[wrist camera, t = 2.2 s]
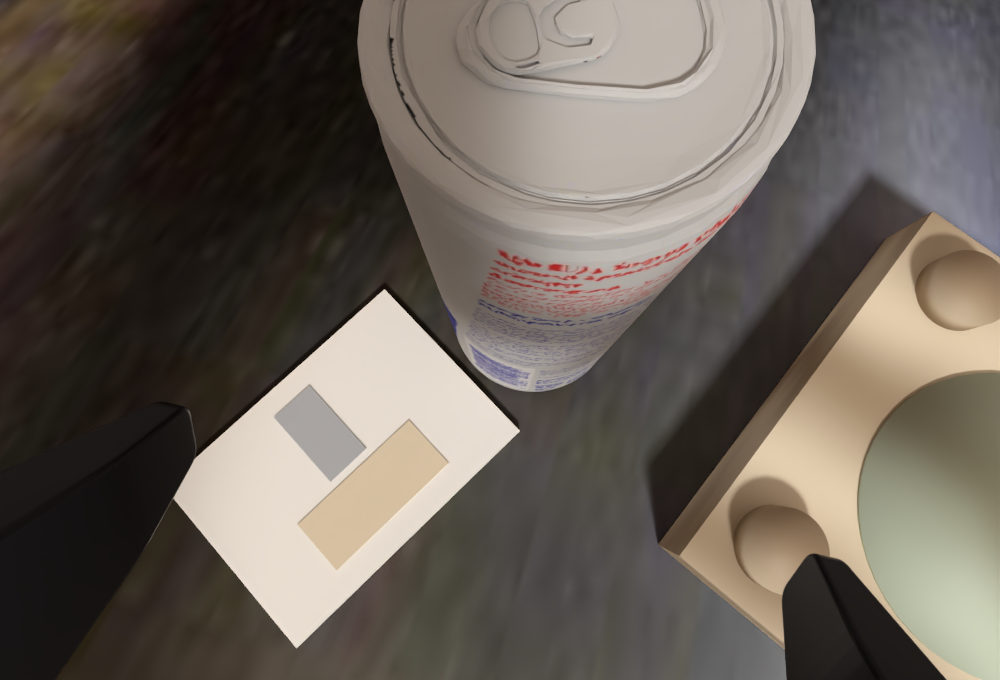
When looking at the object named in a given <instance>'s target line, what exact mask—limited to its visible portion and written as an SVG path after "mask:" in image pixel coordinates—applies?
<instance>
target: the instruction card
mask: <svg viewBox="0 0 1000 680" xmlns="http://www.w3.org/2000/svg"><path fill="white" fill-rule="evenodd" d="M518 432H520V430H519V429H518V428H517V427H516V426H515V425H514V424H513V423H512V422H511V421H510V420H509V419H508V418H507V417H506V416H505V415H504V414H503V413H502V412H501V411H500V410H499V408H498V407H497V406H496V405H495V404H494V403H493V402H492V401H491V400H490V399H489V398H488V397H487V396H486V395H485V394H484V393H483V392H482V391H481V390H480V389H479V388H478V386H477V385H476V384H475V383H474V382H473V381H472V380H471V379H470V378H469V377H468V376H467V375H466V374H465V373H464V372H463V371H462V370H461V369H460V368H459V367H458V366H457V365H456V363H455V362H454V361H453V360H452V359H451V358H450V357H449V356H448V355H447V354H446V353H445V352H444V351H443V350H442V349H441V348H440V347H439V346H438V345H437V344H436V343H435V341H434V340H433V339H432V338H431V337H430V336H429V335H428V334H427V333H426V332H425V331H424V330H423V329H422V328H421V327H420V326H419V325H418V324H417V323H416V322H415V321H414V319H413V318H412V317H411V316H410V315H409V314H408V313H407V312H406V311H405V310H404V309H403V308H402V307H401V306H400V305H399V304H398V303H397V302H396V301H395V300H394V299H393V297H392V296H391V295H390V294H389V293H388V292H387V291H386V290H385V289H384V290H383V291H382V292H381V293H380V294H378V295H377V296H376V297H375V298H374V299H373V300H372V301H371V302H370V303H368V304H367V305H366V306H365V307H364V308H363V309H362V310H361V311H359V312H358V313H357V314H356V315H355V316H354V317H353V318H352V319H350V320H349V321H348V322H347V323H346V324H345V325H344V326H343V327H342V328H340V329H339V330H338V331H337V332H336V333H335V334H334V335H333V336H331V337H330V338H329V339H328V340H327V341H326V342H325V343H324V344H323V345H321V346H320V347H319V348H318V349H317V350H316V351H315V352H314V353H312V354H311V355H310V356H309V357H308V358H307V359H306V360H305V361H304V362H302V363H301V364H300V365H299V366H298V367H297V368H296V369H295V370H293V371H292V372H291V373H290V374H289V375H288V376H287V377H286V378H285V379H283V380H282V381H281V382H280V383H279V384H278V385H277V386H276V387H274V388H273V389H272V390H271V391H270V392H269V393H268V394H267V395H266V396H264V397H263V398H262V399H261V400H260V401H259V402H258V403H257V404H255V405H254V406H253V407H252V408H251V409H250V410H249V411H248V412H247V413H245V414H244V415H243V416H242V417H241V418H240V419H239V420H238V421H236V422H235V423H234V424H233V425H232V426H231V427H230V428H229V429H228V430H226V431H225V432H224V433H223V434H222V435H221V436H220V437H219V438H217V439H216V440H215V441H214V442H213V443H212V444H211V445H210V446H209V447H207V448H206V449H205V450H204V451H203V452H202V453H201V454H200V455H198V456H197V457H196V458H195V459H194V461H193V463H192V465H191V467H190V469H189V471H188V473H187V474H186V476H185V478H184V480H183V482H182V484H181V485H180V487H179V489H178V491H177V493H176V494H175V496H174V500H175V501H176V502H177V503H178V505H179V506H180V507H181V508H182V509H183V511H184V512H185V513H186V514H187V515H188V517H189V518H190V519H191V520H192V522H193V523H194V524H195V525H196V526H197V528H198V529H199V530H200V531H201V533H202V534H203V535H204V536H205V537H206V539H207V540H208V541H209V542H210V544H211V545H212V546H213V547H214V548H215V550H216V551H217V552H218V553H219V554H220V556H221V557H222V558H223V559H224V561H225V562H226V563H227V564H228V565H229V567H230V568H231V569H232V570H233V572H234V573H235V574H236V575H237V576H238V578H239V579H240V580H241V581H242V583H243V584H244V585H245V586H246V587H247V589H248V590H249V591H250V592H251V593H252V595H253V596H254V597H255V598H256V600H257V601H258V602H259V603H260V604H261V606H262V607H263V608H264V609H265V611H266V612H267V613H268V614H269V615H270V617H271V618H272V619H273V620H274V621H275V623H276V624H277V625H278V626H279V628H280V629H281V630H282V631H283V632H284V634H285V635H286V636H287V637H288V639H289V640H290V641H291V642H292V643H293V645H294V646H295V647H296V648H297V647H299V646H300V645H301V644H302V643H303V642H304V641H305V640H306V639H307V638H308V637H309V636H310V635H311V634H312V633H313V632H314V631H315V630H316V629H317V628H318V627H319V626H320V625H321V624H322V623H323V622H324V621H325V620H326V619H327V618H328V617H329V616H330V615H332V614H333V613H334V612H335V611H336V610H337V609H338V608H339V607H340V606H341V605H342V604H343V603H344V602H345V601H346V600H347V599H348V598H349V597H350V596H351V595H352V594H353V593H354V592H355V591H356V590H357V589H358V588H359V587H360V586H361V585H362V584H363V583H364V582H365V581H366V580H367V579H369V578H370V577H371V576H372V575H373V574H374V573H375V572H376V571H377V570H378V569H379V568H380V567H381V566H382V565H383V564H384V563H385V562H386V561H387V560H388V559H389V558H390V557H391V556H392V555H393V554H394V553H395V552H396V551H397V550H398V549H399V548H400V547H401V546H402V545H403V544H404V543H405V542H407V541H408V540H409V539H410V538H411V537H412V536H413V535H414V534H415V533H416V532H417V531H418V530H419V529H420V528H421V527H422V526H423V525H424V524H425V523H426V522H427V521H428V520H429V519H430V518H431V517H432V516H433V515H434V514H435V513H436V512H437V511H438V510H439V509H440V508H441V507H442V506H444V505H445V504H446V503H447V502H448V501H449V500H450V499H451V498H452V497H453V496H454V495H455V494H456V493H457V492H458V491H459V490H460V489H461V488H462V487H463V486H464V485H465V484H466V483H467V482H468V481H469V480H470V479H471V478H472V477H473V476H474V475H475V474H476V473H477V472H478V471H479V470H480V469H482V468H483V467H484V466H485V465H486V464H487V463H488V462H489V461H490V460H491V459H492V458H493V457H494V456H495V455H496V454H497V453H498V452H499V451H500V450H501V449H502V448H503V447H504V446H505V445H506V444H507V443H508V442H509V441H510V440H511V439H512V438H513V437H514V436H515V435H516V434H517V433H518Z"/></svg>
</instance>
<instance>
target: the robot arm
mask: <svg viewBox="0 0 1000 680" xmlns="http://www.w3.org/2000/svg"><path fill="white" fill-rule="evenodd" d="M195 455H196V441H195V436H194V430H193V425H192V420H191V415H190V412H189V411H188V409H187V408H186V407H184V406H180V405H175V404H171V403H167V402H156V403H153V404H150V405H148V406H146V407H144V408H141V409H139V410H137V411H135V412H132V413H130V414H128V415H126V416H124V417H121V418H119V419H117V420H115V421H112V422H110V423H108V424H106V425H103V426H101V427H99V428H97V429H94V430H92V431H90V432H88V433H86V434H83V435H81V436H79V437H77V438H74V439H72V440H70V441H68V442H65V443H63V444H61V445H59V446H56V447H54V448H52V449H50V450H48V451H45V452H43V453H41V454H39V455H36V456H34V457H32V458H30V459H27V460H25V461H23V462H21V463H18V464H16V465H14V466H12V467H10V468H7V469H5V470H3V471H1V472H0V680H55V679H56V678H57V676H58V675H59V674H60V672H61V671H62V669H63V668H64V666H65V665H66V664H67V662H68V661H69V659H70V658H71V656H72V655H73V653H74V652H75V651H76V649H77V648H78V646H79V645H80V643H81V642H82V640H83V639H84V638H85V636H86V635H87V633H88V632H89V630H90V629H91V628H92V626H93V625H94V623H95V622H96V620H97V619H98V617H99V616H100V615H101V613H102V612H103V610H104V609H105V607H106V606H107V605H108V603H109V602H110V600H111V599H112V597H113V596H114V594H115V593H116V592H117V590H118V589H119V587H120V586H121V584H122V583H123V582H124V580H125V579H126V577H127V576H128V574H129V573H130V571H131V570H132V568H133V567H134V565H135V564H136V562H137V561H138V559H139V558H140V556H141V555H142V553H143V552H144V550H145V548H146V546H147V545H148V543H149V541H150V540H151V538H152V536H153V534H154V532H155V531H156V529H157V527H158V525H159V523H160V522H161V520H162V518H163V516H164V514H165V512H166V511H167V509H168V507H169V505H170V503H171V502H172V500H173V498H174V496H175V494H176V493H177V491H178V489H179V487H180V485H181V484H182V482H183V480H184V478H185V476H186V474H187V473H188V471H189V469H190V467H191V465H192V463H193V461H194V459H195ZM782 615H783V630H784V645H785V660H786V675H787V680H947V679H946V678H945V677H944V676H943V675H942V674H941V672H940V671H939V670H938V669H937V668H936V667H935V665H934V664H933V663H932V662H931V661H930V660H929V659H928V657H927V656H926V655H925V654H924V653H923V652H922V650H921V649H920V648H919V647H918V646H917V645H916V644H915V642H914V641H913V640H912V639H911V638H910V637H909V635H908V634H907V633H906V632H905V631H904V630H903V628H902V627H901V626H900V625H899V624H898V623H897V622H896V620H895V619H894V618H893V617H892V616H891V615H890V613H889V612H888V611H887V610H886V609H885V608H884V606H883V605H882V604H881V603H880V602H879V601H878V600H877V598H876V597H875V596H874V595H873V594H872V593H871V591H870V590H869V589H868V588H867V587H866V586H865V585H864V583H863V582H862V581H861V580H860V579H859V578H858V576H857V575H856V574H855V573H854V572H853V571H852V569H851V568H850V567H849V566H848V565H847V564H846V563H845V562H843V561H842V560H840V559H838V558H834V557H829V556H825V555H821V554H817V553H812V554H810V555H808V556H807V557H806V558H805V559H804V560H803V562H802V563H801V564H800V566H799V567H798V569H797V570H796V571H795V573H794V574H793V576H792V577H791V578H790V580H789V581H788V583H787V584H786V586H785V588H784V590H783V595H782Z"/></svg>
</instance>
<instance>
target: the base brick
mask: <svg viewBox="0 0 1000 680" xmlns="http://www.w3.org/2000/svg"><path fill="white" fill-rule="evenodd" d="M658 545H659V546H661V547H662V548H663V549H664V550H665V551H667V552H668V553H669V554H670V555H671V556H673V557H674V558H675V559H676V560H677V561H679V562H680V563H681V564H682V565H683V566H685V567H686V568H687V569H688V570H689V571H691V572H692V573H693V574H694V575H695V576H697V577H698V578H699V579H700V580H701V581H703V582H704V583H705V584H706V585H707V586H709V587H710V588H711V589H712V590H713V591H715V592H716V593H717V594H718V595H719V596H721V597H722V598H723V599H724V600H725V601H727V602H728V603H729V604H730V605H732V606H733V607H734V608H735V609H736V610H738V611H739V612H740V613H741V614H742V615H744V616H745V617H746V618H747V619H748V620H750V621H751V622H752V623H753V624H754V625H756V626H757V627H758V628H759V629H760V630H762V631H763V632H764V633H765V634H766V635H768V636H769V637H770V638H771V639H772V640H774V641H775V642H776V643H777V644H778V645H780V646H781V647H782V648H783V649H784V650H785V645H784V630H783V615H782V595H783V590H784V588H785V586H786V584H787V583H788V581H789V580H790V578H791V577H792V576H793V574H794V573H795V571H796V570H797V569H798V567H799V566H800V564H801V563H802V562H803V560H804V559H805V558H806V557H807V556H808V555H810V554H812V553H817V554H821V555H825V556H829V557H834V558H838V559H840V560H842V561H843V562H845V563H846V564H847V565H848V566H849V567H850V568H851V569H852V571H853V572H854V573H855V574H856V575H857V576H858V578H859V579H860V580H861V581H862V582H863V583H864V585H865V586H866V587H867V588H868V589H869V590H870V591H871V593H872V594H873V595H874V596H875V597H876V598H877V600H878V601H879V602H880V603H881V604H882V605H883V606H884V608H885V609H886V610H887V611H888V612H889V613H890V615H891V616H892V617H893V618H894V619H895V620H896V622H897V623H898V624H899V625H900V626H901V627H902V628H903V630H904V631H905V632H906V633H907V634H908V635H909V637H910V638H911V639H912V640H913V641H914V642H915V644H916V645H917V646H918V647H919V648H920V649H921V650H922V652H923V653H924V654H925V655H926V656H927V657H928V659H929V660H930V661H931V662H932V663H933V664H934V665H935V667H936V668H937V669H938V670H939V671H940V672H941V674H942V675H943V676H944V677H945V678H946V679H947V680H1000V257H998V256H997V255H995V254H994V253H992V252H991V251H990V250H988V249H987V248H985V247H984V246H982V245H981V244H979V243H978V242H977V241H975V240H974V239H972V238H971V237H969V236H968V235H966V234H965V233H963V232H962V231H961V230H959V229H958V228H956V227H955V226H953V225H952V224H950V223H949V222H948V221H946V220H945V219H943V218H942V217H940V216H939V215H937V214H936V213H935V212H931V213H929V214H928V215H926V216H924V217H922V218H921V219H919V220H917V221H916V222H914V223H912V224H910V225H909V226H907V227H905V228H904V229H902V230H900V231H898V232H897V233H895V234H893V235H891V236H890V237H888V238H886V239H885V241H884V242H883V243H882V245H881V246H880V247H879V249H878V250H877V251H876V253H875V254H874V255H873V257H872V258H871V259H870V261H869V262H868V263H867V265H866V266H865V267H864V269H863V270H862V271H861V273H860V274H859V275H858V277H857V278H856V279H855V281H854V282H853V284H852V285H851V286H850V288H849V289H848V290H847V292H846V293H845V294H844V296H843V297H842V298H841V300H840V301H839V302H838V304H837V305H836V306H835V308H834V309H833V310H832V312H831V313H830V314H829V316H828V317H827V318H826V320H825V321H824V322H823V324H822V325H821V326H820V328H819V329H818V331H817V332H816V333H815V335H814V336H813V337H812V339H811V340H810V341H809V343H808V344H807V345H806V347H805V348H804V349H803V351H802V352H801V353H800V355H799V356H798V357H797V359H796V360H795V361H794V363H793V364H792V365H791V367H790V368H789V369H788V371H787V372H786V373H785V375H784V376H783V378H782V379H781V380H780V382H779V383H778V384H777V386H776V387H775V388H774V390H773V391H772V392H771V394H770V395H769V396H768V398H767V399H766V400H765V402H764V403H763V404H762V406H761V407H760V408H759V410H758V411H757V412H756V414H755V415H754V416H753V418H752V419H751V421H750V422H749V423H748V425H747V426H746V427H745V429H744V430H743V431H742V433H741V434H740V435H739V437H738V438H737V439H736V441H735V442H734V443H733V445H732V446H731V447H730V449H729V450H728V451H727V453H726V454H725V455H724V457H723V458H722V459H721V461H720V462H719V463H718V465H717V466H716V468H715V469H714V470H713V472H712V473H711V474H710V476H709V477H708V478H707V480H706V481H705V482H704V484H703V485H702V486H701V488H700V489H699V490H698V492H697V493H696V494H695V496H694V497H693V498H692V500H691V501H690V502H689V504H688V505H687V506H686V508H685V509H684V510H683V512H682V513H681V515H680V516H679V517H678V519H677V520H676V521H675V523H674V524H673V525H672V527H671V528H670V529H669V531H668V532H667V533H666V535H665V536H664V537H663V539H662V540H661V541H660V543H659V544H658Z"/></svg>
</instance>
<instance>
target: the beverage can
mask: <svg viewBox="0 0 1000 680" xmlns="http://www.w3.org/2000/svg"><path fill="white" fill-rule="evenodd" d="M357 44H358V55H359V62H360V69H361V76H362V83H363V86H364V89H365V92H366V95H367V98H368V101H369V104H370V107H371V109H372V111H373V113H374V115H375V118H376V120H377V123H378V127H379V130H380V134H381V138H382V141H383V145H384V148H385V150H386V153H387V156H388V158H389V161H390V163H391V166H392V169H393V171H394V174H395V176H396V179H397V182H398V184H399V187H400V189H401V192H402V195H403V197H404V200H405V203H406V205H407V208H408V210H409V213H410V216H411V218H412V221H413V223H414V226H415V229H416V231H417V234H418V236H419V239H420V242H421V244H422V247H423V249H424V252H425V255H426V257H427V260H428V263H429V265H430V268H431V270H432V273H433V276H434V278H435V281H436V283H437V286H438V289H439V291H440V294H441V296H442V299H443V302H444V304H445V307H446V309H447V312H448V315H449V317H450V320H451V322H452V325H453V328H454V330H455V333H456V336H457V338H458V341H459V343H460V345H461V348H462V349H463V351H464V353H465V355H466V356H467V358H468V359H469V360H470V362H471V363H472V364H473V365H474V366H475V367H476V368H477V369H478V370H479V371H480V372H481V373H482V374H484V375H485V376H486V377H488V378H489V379H491V380H492V381H494V382H496V383H498V384H500V385H503V386H505V387H508V388H511V389H515V390H520V391H529V392H538V391H547V390H552V389H556V388H559V387H562V386H565V385H567V384H569V383H571V382H573V381H575V380H577V379H578V378H579V377H581V376H582V375H584V374H585V373H586V372H587V371H588V370H589V369H590V368H591V367H592V366H593V365H594V364H595V363H596V362H597V361H598V359H599V358H600V357H601V356H602V355H603V354H604V353H605V352H606V351H607V350H608V349H609V348H610V347H611V345H612V344H613V343H614V342H615V341H616V340H617V339H618V338H619V337H620V336H621V335H622V334H623V333H624V331H625V330H626V329H627V328H628V327H629V326H630V325H631V324H632V323H633V322H634V321H635V320H636V319H637V317H638V316H639V315H640V314H641V313H642V312H643V311H644V310H645V309H646V308H647V307H648V306H649V305H650V304H651V302H652V301H653V300H654V299H655V298H656V297H657V296H658V295H659V294H660V293H661V292H662V291H663V290H664V288H665V287H666V286H667V285H668V284H669V283H670V282H671V281H672V280H673V279H674V278H675V277H676V276H677V274H678V273H679V272H680V271H681V270H682V269H683V268H684V267H685V266H686V265H687V264H688V263H689V262H690V260H691V259H692V258H693V257H694V256H695V255H696V254H697V253H698V252H699V251H700V250H701V249H702V248H703V247H704V245H705V244H706V243H707V242H708V241H709V240H710V239H711V238H712V237H713V236H714V235H715V234H716V233H717V231H718V230H719V229H720V228H721V227H722V226H723V225H724V224H725V223H726V222H727V221H728V220H729V219H730V217H731V216H732V215H733V214H734V213H735V212H736V211H737V210H738V209H739V207H740V206H741V205H742V203H743V202H744V201H745V199H746V198H747V197H748V196H749V194H750V193H751V191H752V190H753V188H754V187H755V186H756V184H757V183H758V181H759V180H760V179H761V177H762V176H763V174H764V173H765V171H766V170H767V167H768V165H769V163H770V160H771V159H772V157H773V156H774V155H775V153H776V152H777V151H778V150H779V148H780V147H781V146H782V144H783V143H784V141H785V140H786V138H787V137H788V135H789V133H790V131H791V129H792V128H793V126H794V124H795V122H796V120H797V118H798V116H799V114H800V112H801V109H802V107H803V105H804V103H805V100H806V97H807V94H808V90H809V87H810V84H811V79H812V73H813V67H814V61H815V56H816V49H815V27H814V15H813V10H812V5H811V0H363V4H362V7H361V10H360V18H359V29H358V40H357Z"/></svg>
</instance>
